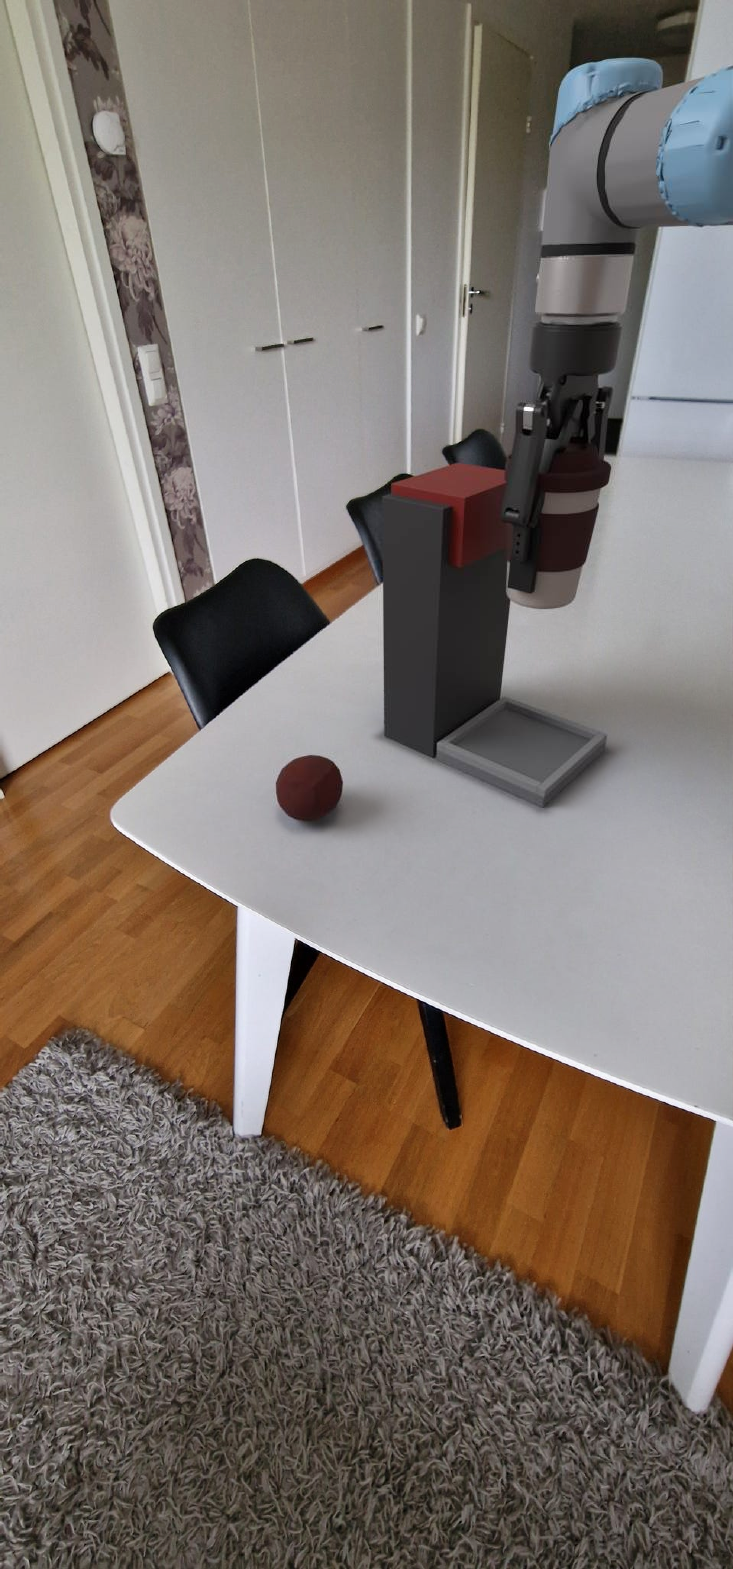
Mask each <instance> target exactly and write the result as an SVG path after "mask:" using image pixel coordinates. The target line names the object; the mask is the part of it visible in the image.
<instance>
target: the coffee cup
mask: <svg viewBox="0 0 733 1569" xmlns="http://www.w3.org/2000/svg"><path fill="white" fill-rule="evenodd" d="M510 460H511V458H509V459H508V460H507V461H506V462H505V465H504V470H505V475H504V479H505V481H507V476H508V470H509V465H510ZM611 472H612V465H611V463H609V462H608V461H607V460H605V459H604V460H602V459H599V454H598V450H597V447H596V446H595V445H593V444H591V443H587V444H586V443H578V444H571V443H568V446H567V449H566V450H565V451H564V452H559V453H557V454H556V455H555V458H554V461H553V465H552V468H551V471H550V473H548V474H545V473H538V478H537V483H536V488H535V490H540V489H542V492H545V500H544V505H543V508H542V512H541V515H540V518H539V521H538V524H537V525H538V526H542V536H541V544H540V551H539V559H538V567H537V575H536V583H535V591H534V592H533V593H531V594H529V593H526V592H522V591H518V590H514V589H511V588H507V587H508V577H509V567H510V558H511V548H512V538H513V524H511V523H507V522H506V550H505V556H506V560H507V582H506V593H507V596H508V598H509V599H510V602H512V603H514V604H516V605H518V606H521V607H525V608H529V609H536V610H553V609H561V608H564V607H566V606H569V605H570V604H572V602H574V601H575V598H576V596H577V592H578V588H579V583H580V579H581V575H582V570H583V566H584V565H585V564H586V562H587V558H588V554H589V550H590V546H591V542H592V538H593V534H594V529H595V526H596V521H597V517H598V513H599V508H600V503H599V499H600V494H601V490H602V489H603V488H604V487H606V486H608V485H609V482H610V478H611V474H612V473H611ZM512 509H513V508H512Z"/></svg>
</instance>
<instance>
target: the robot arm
mask: <svg viewBox="0 0 733 1569" xmlns="http://www.w3.org/2000/svg"><path fill="white" fill-rule="evenodd" d="M663 80H664V72H663V68H662V66H661V65H660V64H659V63H658V62H657V61H655V60H653V59H650V58H649V59H648V58H644V57H643V58H642V57H616V58H607V59H603V60H601V61H596V62H594V61H593V62H587V63H584V64H580V65H578V66H576V67H573V69H571V70H570V71H568V72H567V74H566V75H565V76H564V77H563V79H562V81H561V83H560V86H559V89H558V93H557V94H558V95H557V100H556V109H555V115H554V124H553V130H552V134H551V135H550V140H549V142H548V152H549V156H548V168H547V177H546V179H547V180H546V187H545V188H546V189H545V198H544V199H545V200H544V212H543V221H542V233H541V244H540V246H541V249H540V257H541V258H540V263H539V270H538V273H537V275H536V279H535V280H536V281H535V282H536V284H537V289H536V298H535V307H534V313H535V314H536V315H537V316H541V317H540V321H539V322H536V323H535V324H534V326H533V327H532V330H531V340H530V350H529V360H528V367H529V369H530V371H531V372H532V373H534V374H538V375H539V376H540V382H539V386H538V389H537V390H538V391H537V392H536V396H535V400H533V401H532V402H522V401H521V402H519V403H517V406H516V409H515V429H514V430H515V432H514V439H513V443H512V449H511V455H510V459H511V460H510V465H509V470H508V476H507V481H506V487H505V492H504V498H503V503H502V508H501V514H500V519H501V521H504V522H507V523H511V524H513V538H512V548H511V558H510V567H509V577H508V587H507V588H511V589H514V590H518V591H522V592H526V593H529V594H531V593H533V592H534V591H535V583H536V575H537V567H538V559H539V551H540V544H541V536H542V526H538V525H537V524H538V521H539V518H540V515H541V512H542V508H543V505H544V500H545V492H542V489H540V490H535V488H536V483H537V478H538V473H545V474H548V473H550V471H551V468H552V465H553V461H554V458H555V455H556V454H557V453H559V452H564V451H565V450H566V449H567V446H568V443H571V444H578V443H586V444H587V443H591V444H593V445H595V446H596V447H597V450H598V454H599V459H602V460H604V461H605V451H606V441H607V430H608V421H609V420H608V418H609V412H610V406H611V402H612V398H613V393H614V388H613V386H608V385H607V386H606V385H599V376H602V375H606V374H609V373H611V372H612V371H613V370H615V368H616V365H617V360H618V356H619V355H618V354H619V349H620V348H619V347H620V341H621V336H622V331H623V330H622V329H623V327H622V326H621V322H618V321H617V319H618V316H620V315H623V313H625V312H626V309H627V305H628V304H627V303H628V297H629V292H630V291H629V290H630V284H631V277H632V271H633V264H634V258H635V256H634V255H635V254H636V253H635V251H636V246H637V244H636V241H637V235H638V231H639V229H641V228H669V227H695V228H703V227H707V226H708V227H718V226H719V227H720V226H733V65H731V66H726V67H722V68H719V69H718V70H717V71H716V72H715V73H710V74H708V75H706V76H702V77H698V78H695V79H691V80H687V81H685V82H680V83H677V84H674V85H670V86H667V87H663ZM512 508H513V509H512Z"/></svg>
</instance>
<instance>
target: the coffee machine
mask: <svg viewBox="0 0 733 1569" xmlns="http://www.w3.org/2000/svg"><path fill="white" fill-rule="evenodd" d="M504 475H505V469H498V468H492V467H488V466H480V465H475V464H469V463H468V464H467V463H462V462H455V463H453V464H449V465H446V466H442V467H439V468H435V469H433V470H430V471H427V472H423V473H420V474H416V475H415V476H414V475H413V476H411V477H408V478H404V479H402V480H398V481H395V482H392V483H391V484H390V485H391V488H390V489H391V490H390V491H391V492H390V493H389V494H386V495H383V496H381V499H382V500H381V503H382V504H381V505H382V509H381V510H382V511H381V512H382V516H381V517H382V521H381V522H382V625H383V626H382V629H383V630H382V632H383V633H382V634H383V636H382V638H383V643H382V644H383V735H384V737H385V738H388V739H389V740H392V741H394V742H396V743H399V744H401V745H403V746H404V747H405V746H406V747H408V748H410V749H411V750H414V751H416V752H418V753H421V754H423V755H425V756H427V757H430V758H431V759H435V758H436V761H439V762H440V763H444V764H445V765H447V766H449V767H452V768H454V769H456V770H459V771H461V772H463V773H465V774H467V775H469V776H472V777H474V778H476V779H478V780H481V781H483V782H485V783H487V784H489V785H492V786H494V787H496V788H498V789H500V790H503V791H505V792H507V793H510V794H512V795H514V796H516V797H518V798H520V799H523V800H525V801H527V802H529V803H532V804H533V805H536V806H538V807H541V808H544V807H545V806H546V805H547V804H548V803H550V801H552V800H553V799H554V798H555V797H556V796H557V795H558V794H559V793H560V792H561V791H562V790H563V789H564V788H565V787H566V786H568V785H569V784H570V783H571V782H572V781H573V780H574V779H575V778H576V777H577V776H579V775H580V773H582V772H583V771H584V770H585V769H586V768H587V767H588V766H589V765H590V764H591V763H593V761H595V760H596V759H597V758H598V757H599V756H600V755H601V754H603V752H605V748H606V742H607V739H608V733H605V732H602V731H600V730H597V729H594V728H591V727H589V726H585V725H583V724H581V723H578V722H575V721H572V720H569V719H567V718H565V717H561V716H558V715H556V714H553V713H550V712H547V711H545V710H542V709H539V708H537V707H534V706H532V705H529V704H526V703H523V702H521V701H518V700H515V699H513V698H510V697H507V696H504V695H503V696H501V694H502V685H503V676H504V668H505V666H504V665H505V656H506V648H507V637H508V628H509V620H510V609H511V600H510V599H509V598H508V596H507V593H506V582H507V560H506V556H505V550H506V522H504V521H501V519H500V514H501V508H502V503H503V498H504V492H505V487H506V481H505V479H504Z"/></svg>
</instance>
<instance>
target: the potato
mask: <svg viewBox="0 0 733 1569" xmlns="http://www.w3.org/2000/svg"><path fill="white" fill-rule="evenodd" d="M343 788H344V780H343V777H342V773H341V770H340V768H339V767H338V766H337V764H336V763H335V762H334V761H333V760H332V759H330V758H328V757H325V756H321V755H317V754H308V755H304V756H298V757H296V758H294V759H292V760H291V761H289V762H288V763H286V764H285V766H283V767H282V768H281V770H280V772H279V773H278V775H277V778H276V781H275V793H276V801H277V803H278V805H279V807H280V808H281V810H282V811H283V812H284V814H285V815H287V817H289V818H291V819H294V820H296V821H300V822H313V821H315V820H319V819H321V818H323V817H325V816H327V815H328V814H329V813H331V812H333V810H334V809H336V807H337V805H338V804H339V802H340V800H341V797H342V794H343Z"/></svg>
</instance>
